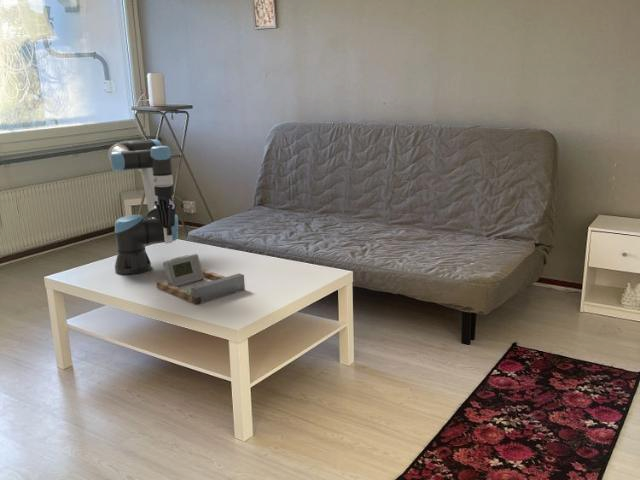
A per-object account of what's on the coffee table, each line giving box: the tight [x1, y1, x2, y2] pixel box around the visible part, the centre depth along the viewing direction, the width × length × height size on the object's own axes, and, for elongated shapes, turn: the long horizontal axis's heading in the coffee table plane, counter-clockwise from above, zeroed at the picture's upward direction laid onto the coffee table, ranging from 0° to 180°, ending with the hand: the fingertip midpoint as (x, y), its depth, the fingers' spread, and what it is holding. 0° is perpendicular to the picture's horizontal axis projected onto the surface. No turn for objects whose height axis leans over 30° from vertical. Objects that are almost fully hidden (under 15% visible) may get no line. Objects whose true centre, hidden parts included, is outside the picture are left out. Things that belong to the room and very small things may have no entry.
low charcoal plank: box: [190, 272, 246, 305], centre depth 238 cm, size 3×22×6 cm, turn 134°
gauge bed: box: [156, 268, 246, 305], centre depth 247 cm, size 28×22×3 cm
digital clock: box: [162, 253, 205, 288], centre depth 254 cm, size 16×9×11 cm, turn 123°
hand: (168, 242), depth 258 cm, fingers closed
